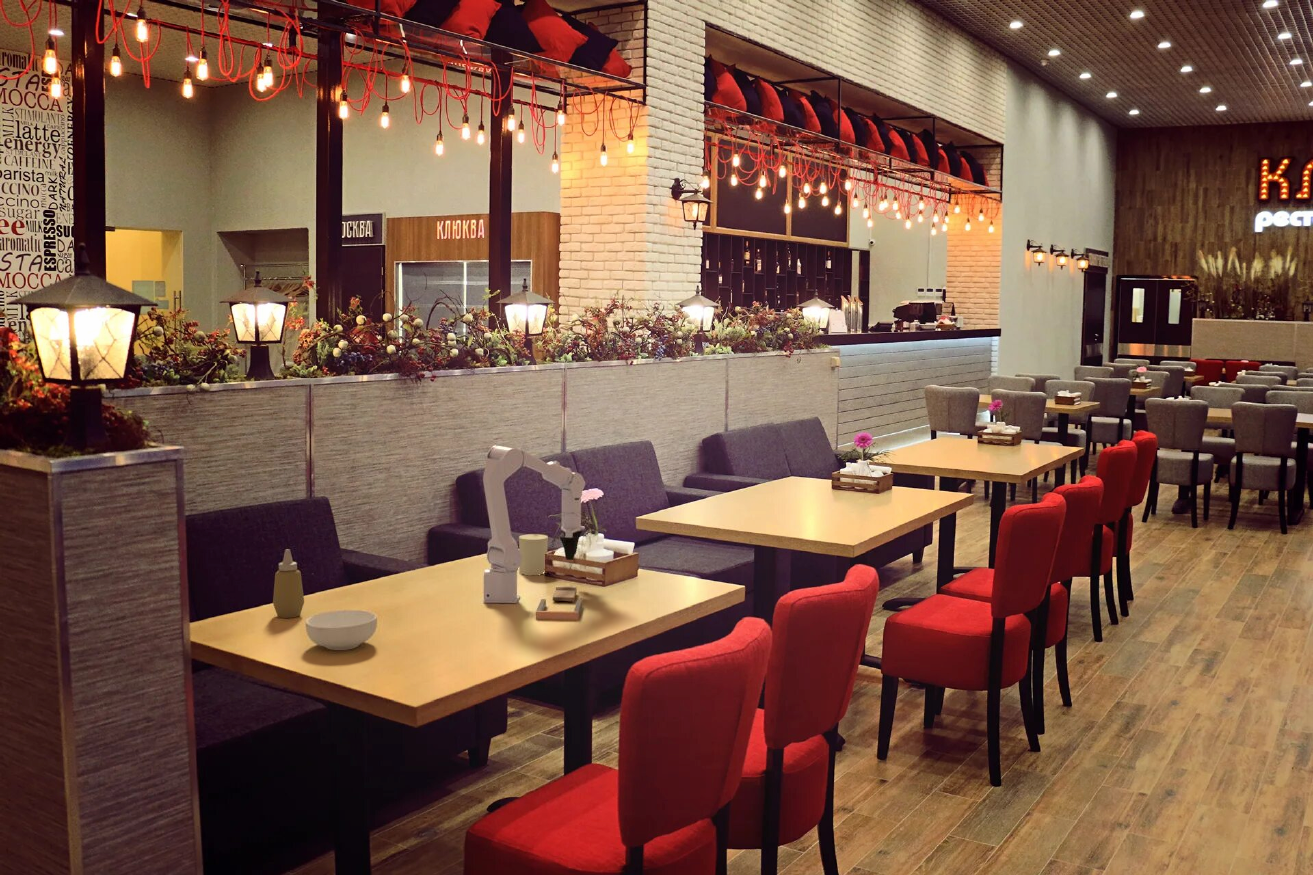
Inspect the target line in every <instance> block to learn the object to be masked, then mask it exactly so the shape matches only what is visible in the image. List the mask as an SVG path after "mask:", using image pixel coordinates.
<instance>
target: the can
mask: <svg viewBox="0 0 1313 875" xmlns="http://www.w3.org/2000/svg"><path fill="white" fill-rule="evenodd" d="M548 540H549V536H548V535H546V534H542V533H541V534H539V533H529V534H522V535H519V537H518V542H519V544H518V549H519V551H520V552H521V554H522V563H521V565H520V567H519V568H518V573H520V574H519V575H522V574H524V575H523V576H527V575H539V574H543V572H544V569H545V554H546V552H548V548H549V546H548V545H549V544H548V543H549V541H548ZM539 576H540V575H539Z"/></svg>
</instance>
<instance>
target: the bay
mask: <svg viewBox="0 0 1313 875" xmlns="http://www.w3.org/2000/svg"><path fill="white" fill-rule="evenodd" d="M575 604H576V605H575V608H574V611H568V610H567V611H565V610H563V611H562V610H558V611H557V610H545V608H546V607H547V599H546V598H542V599H540V601H539V604H538V606H537V608H536V611H535V620H566V621H568V620H569V621H571V620H572V621H575V620H576V621H578V620H579V617H580V615H581V612H582V608H583V600H582V599H577V602H576V603H575Z"/></svg>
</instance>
